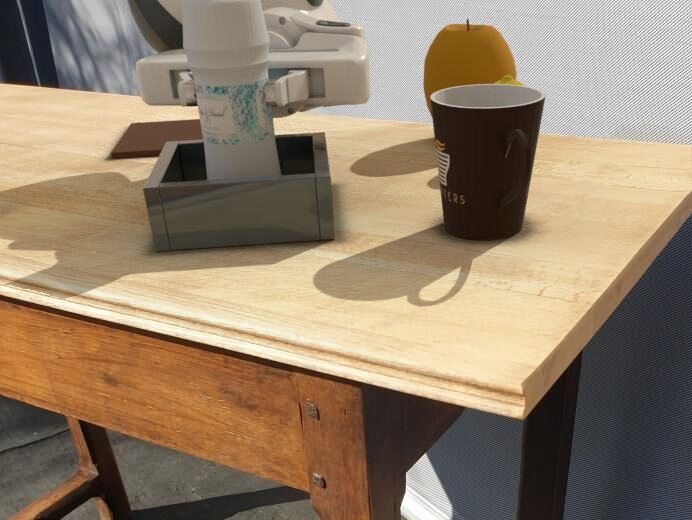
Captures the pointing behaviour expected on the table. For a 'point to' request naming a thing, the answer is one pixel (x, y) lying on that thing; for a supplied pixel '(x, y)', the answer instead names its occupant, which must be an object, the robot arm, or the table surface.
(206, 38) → the bottle
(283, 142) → the grey open box
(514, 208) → the coffee mug
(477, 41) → the apple
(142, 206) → the table surface
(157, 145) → the mat
